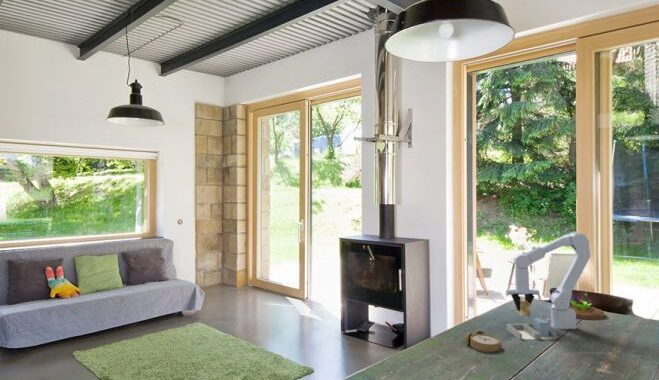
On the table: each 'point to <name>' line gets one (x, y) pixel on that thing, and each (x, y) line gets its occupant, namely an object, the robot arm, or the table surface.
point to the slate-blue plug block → (541, 326)
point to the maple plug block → (524, 308)
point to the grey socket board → (528, 332)
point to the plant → (585, 309)
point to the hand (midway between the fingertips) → (522, 310)
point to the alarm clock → (482, 341)
